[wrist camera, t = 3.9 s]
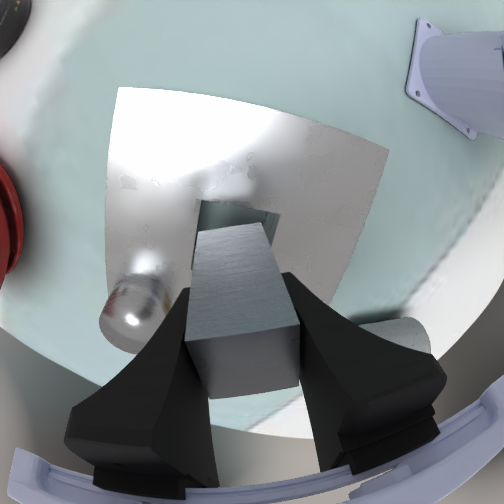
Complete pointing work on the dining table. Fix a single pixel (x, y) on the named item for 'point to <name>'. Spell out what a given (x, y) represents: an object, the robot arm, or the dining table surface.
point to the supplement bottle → (12, 21)
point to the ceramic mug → (402, 333)
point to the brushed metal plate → (223, 197)
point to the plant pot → (9, 226)
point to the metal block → (241, 315)
